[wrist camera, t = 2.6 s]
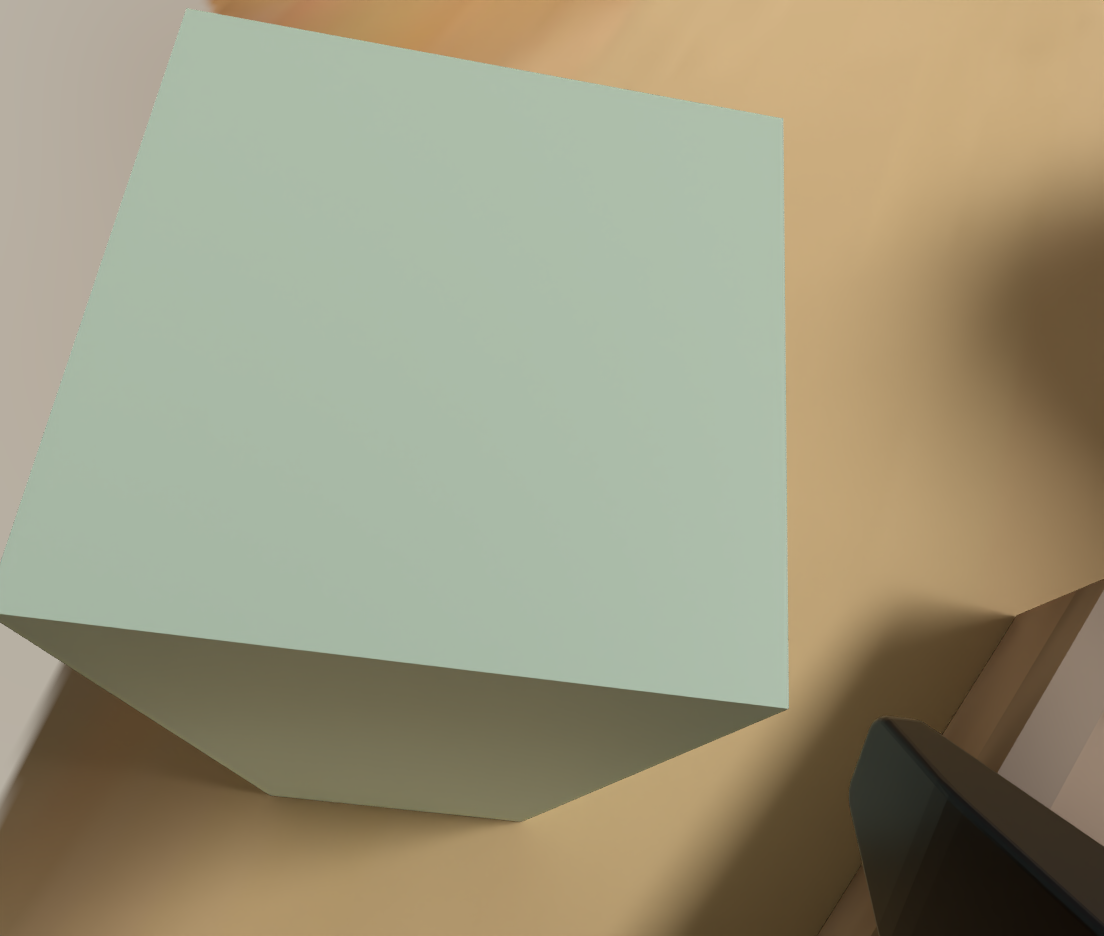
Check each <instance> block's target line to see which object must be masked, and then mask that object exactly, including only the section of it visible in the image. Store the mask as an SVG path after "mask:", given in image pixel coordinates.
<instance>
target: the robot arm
mask: <svg viewBox="0 0 1104 936" xmlns="http://www.w3.org/2000/svg"><path fill="white" fill-rule="evenodd" d="M849 806H850V812H851V816H852V821H853V825H854V829H855V834H856V838H857V843H858V847H859V851H860V856H861V860H862V865H863V869H864V873H865V878H866V882H867V887H868V891H869V896H870V900H871V904H872V909H873V913H874V918H875V922H876V926H877V931H878V935H879V936H1104V846H1103V845H1101V844H1100V843H1098V842H1097V841H1095V840H1094V839H1092V838H1091V837H1089V836H1088V835H1087V834H1085V833H1084V832H1082V831H1081V830H1079V829H1078V828H1076V827H1075V826H1073V825H1072V824H1071V823H1069V822H1068V821H1066V820H1065V819H1063V818H1062V817H1060V816H1059V815H1058V814H1056V813H1055V812H1053V811H1052V810H1050V809H1049V808H1047V807H1046V806H1044V805H1043V804H1042V803H1040V802H1039V801H1037V800H1036V799H1034V798H1033V797H1031V796H1030V795H1028V794H1027V793H1026V792H1024V791H1023V790H1021V789H1020V788H1018V787H1017V786H1015V785H1014V784H1012V783H1011V782H1010V781H1008V780H1007V779H1005V778H1004V777H1002V776H1001V775H999V774H998V773H997V772H995V771H994V770H992V769H991V768H989V767H988V766H986V765H985V764H983V763H982V762H981V761H979V760H978V759H976V758H975V757H973V756H972V755H970V754H969V753H967V752H966V751H965V750H963V749H962V748H960V747H959V746H957V745H956V744H954V743H953V742H951V741H950V740H949V739H947V738H946V737H944V736H943V735H941V734H940V733H938V732H937V731H936V730H934V729H933V728H931V727H930V726H928V725H927V724H925V723H924V722H922V721H920V720H916V719H911V718H902V717H893V716H881V717H879V718H877V719H875V720H874V722H873V723H872V724H871V727H870V729H869V731H868V734H867V737H866V739H865V742H864V745H863V748H862V751H861V753H860V756H859V759H858V762H857V765H856V767H855V770H854V773H853V776H852V779H851V782H850V788H849Z"/></svg>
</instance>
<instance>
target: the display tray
mask: <svg viewBox="0 0 1104 936" xmlns="http://www.w3.org/2000/svg"><path fill="white" fill-rule="evenodd" d="M943 736H944V737H946V738H947V739H949V740H950V741H951V742H953V743H954V744H956V745H957V746H959V747H960V748H962V749H963V750H965V751H966V752H967V753H969V754H970V755H972V756H973V757H975V758H976V759H978V760H979V761H981V762H982V763H983V764H985V765H986V766H988V767H989V768H991V769H992V770H994V771H995V772H997V773H998V774H999V775H1001V776H1002V777H1004V778H1005V779H1007V780H1008V781H1010V782H1011V783H1012V784H1014V785H1015V786H1017V787H1018V788H1020V789H1021V790H1023V791H1024V792H1026V793H1027V794H1028V795H1030V796H1031V797H1033V798H1034V799H1036V800H1037V801H1039V802H1040V803H1042V804H1043V805H1044V806H1046V807H1047V808H1049V809H1050V810H1052V811H1053V812H1055V813H1056V814H1058V815H1059V816H1060V817H1062V818H1063V819H1065V820H1066V821H1068V822H1069V823H1071V824H1072V825H1073V826H1075V827H1076V828H1078V829H1079V830H1081V831H1082V832H1084V833H1085V834H1087V835H1088V836H1089V837H1091V838H1092V839H1094V840H1095V841H1097V842H1098V843H1100V844H1101V845H1103V846H1104V579H1103V580H1100V581H1098V582H1095V583H1093V584H1091V585H1088V586H1086V587H1083V588H1081V589H1079V590H1076V591H1074V592H1071V593H1069V594H1067V595H1064V596H1062V597H1059V598H1057V599H1055V600H1052V601H1050V602H1047V603H1045V604H1043V605H1040V606H1038V607H1035V608H1033V609H1031V610H1028V611H1026V612H1024V613H1021V614H1019V615H1017V616H1016V617H1015V619H1014V621H1013V622H1012V624H1011V625H1010V627H1009V629H1008V630H1007V632H1006V633H1005V635H1004V637H1003V638H1002V640H1001V641H1000V643H999V645H998V646H997V648H996V650H995V651H994V653H993V654H992V656H991V658H990V659H989V661H988V662H987V664H986V666H985V667H984V669H983V670H982V672H981V674H980V675H979V677H978V678H977V680H976V682H975V683H974V685H973V686H972V688H971V690H970V691H969V693H968V695H967V696H966V698H965V699H964V701H963V703H962V704H961V706H960V707H959V709H958V711H957V712H956V714H955V715H954V717H953V719H952V720H951V722H950V723H949V725H948V727H947V728H946V730H945V731H944V733H943ZM818 936H879V935H878V931H877V926H876V922H875V918H874V913H873V909H872V904H871V900H870V896H869V891H868V887H867V882H866V878H865V873H864V869H863V865H861V867H860V868H859V870H858V871H857V873H856V875H855V876H854V878H853V879H852V881H851V883H850V884H849V886H848V887H847V889H846V891H845V892H844V894H843V895H842V897H841V899H840V900H839V902H838V903H837V905H836V907H835V908H834V910H833V912H832V913H831V915H830V916H829V918H828V920H827V921H826V923H825V924H824V926H823V928H822V929H821V931H820V932H819V934H818Z"/></svg>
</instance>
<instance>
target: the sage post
mask: <svg viewBox="0 0 1104 936" xmlns="http://www.w3.org/2000/svg"><path fill="white" fill-rule="evenodd" d="M0 623H2V624H4V625H5V626H7V627H8V628H10V629H12V630H13V631H14V632H16V633H18V634H19V635H21V636H22V637H24V638H26V639H28V640H29V641H30V642H32V643H33V644H35V645H36V646H38V647H40V648H41V649H43V650H44V651H46V652H47V653H49V654H50V655H52V656H54V657H55V658H57V659H58V660H60V661H61V662H63V663H64V664H66V665H68V666H69V667H71V668H72V669H74V670H75V671H77V672H78V673H80V674H82V675H83V676H85V677H86V678H88V679H89V680H91V681H92V682H94V683H96V684H97V685H99V686H100V687H102V688H103V689H105V690H107V691H108V692H110V693H111V694H113V695H114V696H116V697H117V698H119V699H121V700H122V701H124V702H125V703H127V704H128V705H130V706H131V707H133V708H135V709H136V710H138V711H139V712H141V713H142V714H144V715H146V716H147V717H149V718H150V719H152V720H153V721H155V722H156V723H158V724H160V725H161V726H163V727H164V728H166V729H167V730H169V731H170V732H172V733H174V734H175V735H177V736H178V737H180V738H181V739H183V740H185V741H186V742H188V743H189V744H191V745H192V746H194V747H195V748H197V749H199V750H200V751H202V752H203V753H205V754H206V755H208V756H209V757H211V758H213V759H214V760H216V761H217V762H219V763H220V764H222V765H223V766H225V767H227V768H228V769H230V770H231V771H233V772H234V773H236V774H238V775H239V776H241V777H242V778H244V779H245V780H247V781H248V782H250V783H252V784H253V785H255V786H256V787H258V788H259V789H261V790H262V791H264V792H266V793H267V794H269V795H270V796H280V797H289V798H299V799H309V800H318V801H328V802H337V803H347V804H356V805H366V806H375V807H385V808H394V809H404V810H413V811H423V812H432V813H442V814H451V815H461V816H471V817H480V818H490V819H499V820H509V821H518V822H523V821H525V820H527V819H530V818H532V817H534V816H537V815H539V814H542V813H544V812H546V811H549V810H551V809H553V808H556V807H558V806H560V805H563V804H565V803H567V802H570V801H572V800H575V799H577V798H579V797H582V796H584V795H586V794H589V793H591V792H593V791H596V790H598V789H601V788H603V787H605V786H608V785H610V784H612V783H615V782H617V781H619V780H622V779H624V778H626V777H629V776H631V775H634V774H636V773H638V772H641V771H643V770H645V769H648V768H650V767H652V766H655V765H657V764H660V763H662V762H664V761H667V760H669V759H671V758H674V757H676V756H678V755H681V754H683V753H685V752H688V751H690V750H693V749H695V748H697V747H700V746H702V745H704V744H707V743H709V742H711V741H714V740H716V739H719V738H721V737H723V736H726V735H728V734H730V733H733V732H735V731H737V730H740V729H742V728H745V727H747V726H749V725H752V724H754V723H756V722H759V721H761V720H763V719H766V718H768V717H770V716H773V715H775V714H778V713H780V712H782V711H785V710H787V709H789V684H788V577H787V470H786V364H785V257H784V151H783V118H777V117H772V116H766V115H761V114H756V113H750V112H745V111H739V110H734V109H729V108H723V107H718V106H712V105H707V104H702V103H696V102H691V101H685V100H680V99H674V98H669V97H664V96H658V95H653V94H647V93H642V92H637V91H631V90H626V89H620V88H615V87H610V86H604V85H599V84H593V83H588V82H583V81H577V80H572V79H566V78H561V77H555V76H550V75H545V74H539V73H534V72H528V71H523V70H518V69H512V68H507V67H501V66H496V65H491V64H485V63H480V62H474V61H469V60H464V59H458V58H453V57H447V56H442V55H436V54H431V53H426V52H420V51H415V50H409V49H404V48H399V47H393V46H388V45H382V44H377V43H372V42H366V41H361V40H355V39H350V38H345V37H339V36H334V35H328V34H323V33H317V32H312V31H307V30H301V29H296V28H290V27H285V26H280V25H274V24H269V23H263V22H258V21H253V20H247V19H242V18H236V17H231V16H226V15H220V14H215V13H209V12H204V11H198V10H193V9H188V8H187V9H186V12H185V14H184V18H183V20H182V23H181V26H180V29H179V33H178V35H177V38H176V41H175V44H174V47H173V50H172V53H171V56H170V59H169V62H168V65H167V68H166V71H165V74H164V77H163V80H162V83H161V86H160V89H159V92H158V95H157V98H156V101H155V104H154V107H153V110H152V113H151V116H150V119H149V122H148V125H147V128H146V131H145V134H144V136H143V139H142V143H141V146H140V149H139V152H138V154H137V157H136V161H135V163H134V166H133V169H132V172H131V175H130V178H129V181H128V184H127V188H126V190H125V193H124V196H123V199H122V202H121V205H120V208H119V211H118V214H117V217H116V220H115V223H114V226H113V229H112V232H111V235H110V238H109V241H108V244H107V247H106V250H105V253H104V256H103V259H102V262H101V265H100V268H99V271H98V274H97V276H96V280H95V283H94V285H93V288H92V292H91V294H90V298H89V300H88V303H87V306H86V309H85V312H84V315H83V318H82V321H81V324H80V327H79V330H78V333H77V336H76V339H75V342H74V345H73V348H72V351H71V354H70V357H69V360H68V363H67V366H66V369H65V372H64V375H63V378H62V381H61V384H60V387H59V390H58V393H57V396H56V399H55V402H54V405H53V408H52V410H51V413H50V417H49V419H48V422H47V425H46V428H45V432H44V434H43V437H42V440H41V443H40V446H39V449H38V452H37V455H36V458H35V462H34V464H33V467H32V470H31V473H30V476H29V479H28V482H27V485H26V488H25V491H24V494H23V497H22V500H21V503H20V506H19V509H18V512H17V515H16V518H15V521H14V524H13V527H12V530H11V533H10V536H9V539H8V542H7V544H6V548H5V550H4V553H3V556H2V560H1V562H0Z"/></svg>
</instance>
